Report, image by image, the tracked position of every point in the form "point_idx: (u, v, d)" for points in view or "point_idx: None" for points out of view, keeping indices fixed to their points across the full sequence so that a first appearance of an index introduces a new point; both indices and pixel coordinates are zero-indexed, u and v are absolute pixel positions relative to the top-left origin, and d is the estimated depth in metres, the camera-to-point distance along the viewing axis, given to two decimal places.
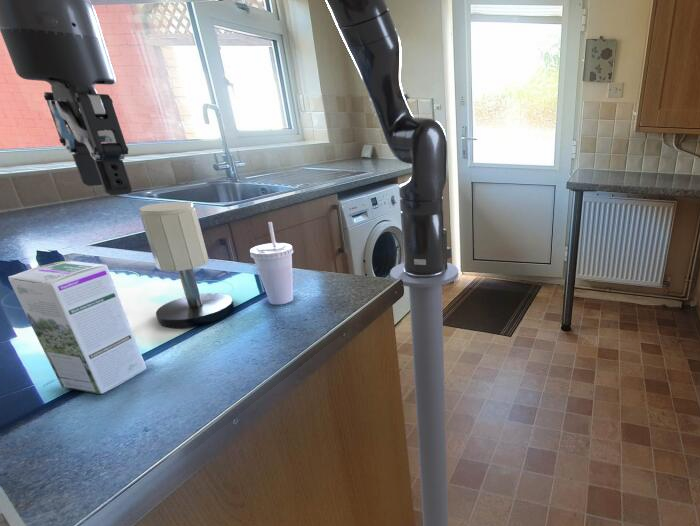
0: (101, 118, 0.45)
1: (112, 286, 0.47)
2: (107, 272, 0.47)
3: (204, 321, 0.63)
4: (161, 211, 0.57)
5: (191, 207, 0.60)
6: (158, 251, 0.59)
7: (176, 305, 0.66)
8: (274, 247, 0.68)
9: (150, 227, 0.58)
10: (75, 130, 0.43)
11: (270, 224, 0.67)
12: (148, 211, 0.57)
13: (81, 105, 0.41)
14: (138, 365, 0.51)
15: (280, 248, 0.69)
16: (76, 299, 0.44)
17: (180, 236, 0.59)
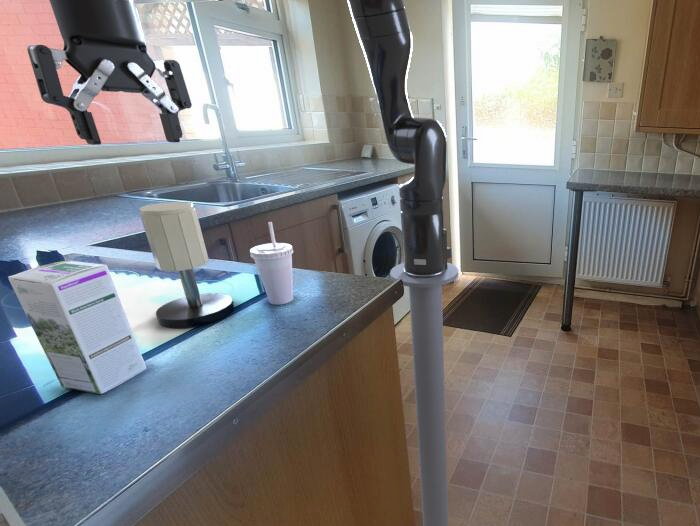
0: (84, 72, 0.48)
1: (112, 286, 0.47)
2: (107, 272, 0.47)
3: (204, 321, 0.63)
4: (161, 211, 0.57)
5: (191, 207, 0.60)
6: (158, 251, 0.59)
7: (176, 305, 0.66)
8: (274, 247, 0.68)
9: (150, 227, 0.58)
10: None
11: (270, 224, 0.67)
12: (148, 211, 0.57)
13: None
14: (138, 365, 0.51)
15: (280, 248, 0.69)
16: (76, 299, 0.44)
17: (180, 236, 0.59)
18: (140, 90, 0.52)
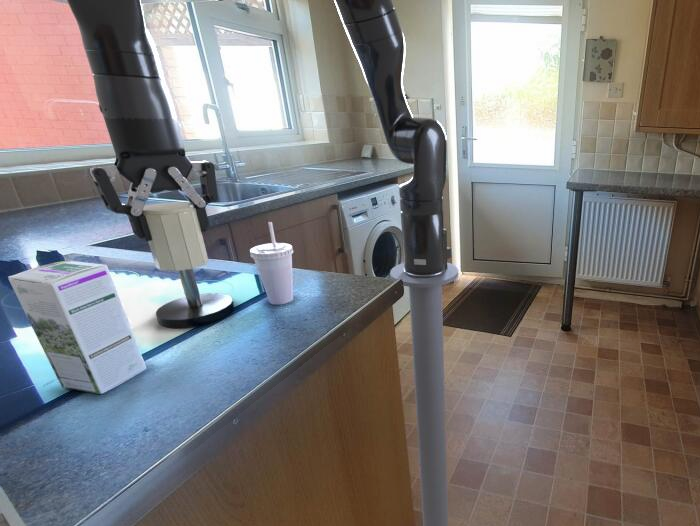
0: (131, 180, 0.55)
1: (112, 286, 0.47)
2: (107, 272, 0.47)
3: (204, 321, 0.63)
4: (161, 211, 0.57)
5: (191, 207, 0.60)
6: (157, 251, 0.59)
7: (176, 305, 0.66)
8: (274, 247, 0.68)
9: (150, 227, 0.58)
10: None
11: (270, 224, 0.67)
12: (148, 211, 0.57)
13: None
14: (138, 365, 0.51)
15: (280, 248, 0.69)
16: (76, 299, 0.44)
17: (180, 236, 0.59)
18: (178, 188, 0.59)
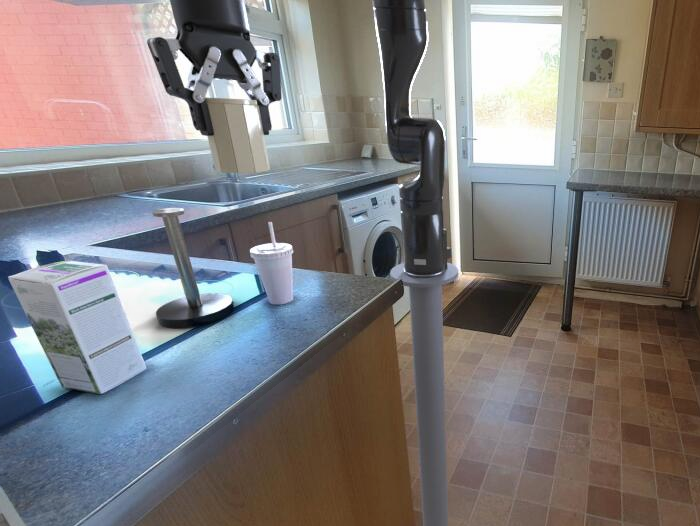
0: (193, 59, 0.48)
1: (112, 286, 0.47)
2: (107, 272, 0.47)
3: (204, 321, 0.63)
4: (225, 99, 0.50)
5: (255, 101, 0.54)
6: (219, 148, 0.52)
7: (176, 305, 0.66)
8: (274, 247, 0.68)
9: (212, 118, 0.51)
10: (190, 74, 0.50)
11: (270, 224, 0.67)
12: (211, 98, 0.50)
13: None
14: (138, 365, 0.51)
15: (280, 248, 0.69)
16: (76, 299, 0.44)
17: (244, 132, 0.53)
18: (242, 78, 0.53)
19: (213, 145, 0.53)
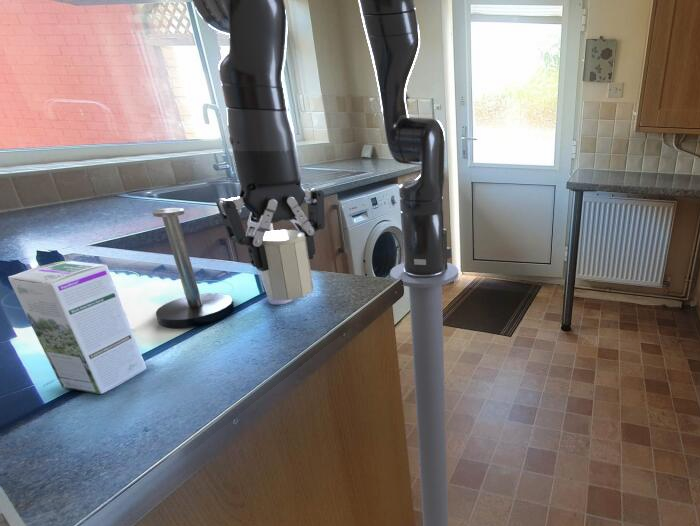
0: (254, 211, 0.55)
1: (112, 286, 0.47)
2: (107, 272, 0.47)
3: (204, 321, 0.63)
4: (280, 241, 0.57)
5: (304, 236, 0.60)
6: (272, 280, 0.59)
7: (176, 305, 0.66)
8: None
9: (268, 257, 0.57)
10: (248, 219, 0.57)
11: (270, 224, 0.67)
12: (268, 241, 0.57)
13: None
14: (138, 365, 0.51)
15: None
16: (76, 299, 0.44)
17: (294, 266, 0.59)
18: (293, 217, 0.59)
19: (267, 277, 0.59)
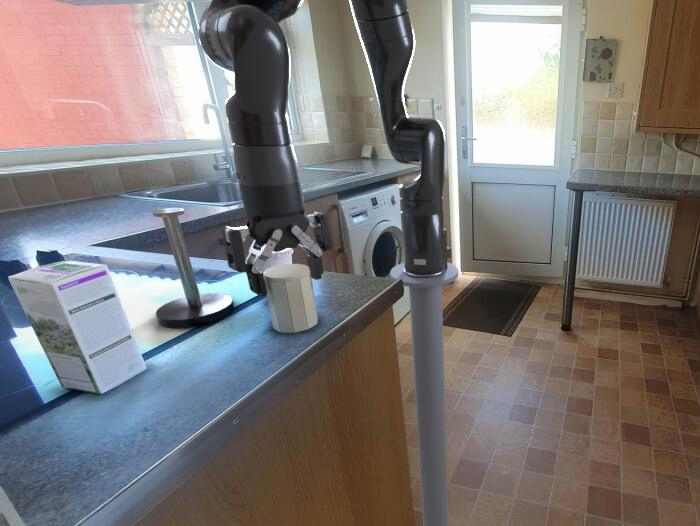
0: (260, 241, 0.57)
1: (112, 286, 0.47)
2: (107, 272, 0.47)
3: (204, 321, 0.63)
4: (286, 278, 0.59)
5: (309, 270, 0.62)
6: (279, 314, 0.61)
7: (176, 305, 0.66)
8: None
9: (274, 293, 0.60)
10: (251, 247, 0.58)
11: None
12: (274, 278, 0.59)
13: None
14: (138, 365, 0.51)
15: None
16: (76, 299, 0.44)
17: (300, 300, 0.61)
18: (297, 244, 0.61)
19: (273, 311, 0.61)
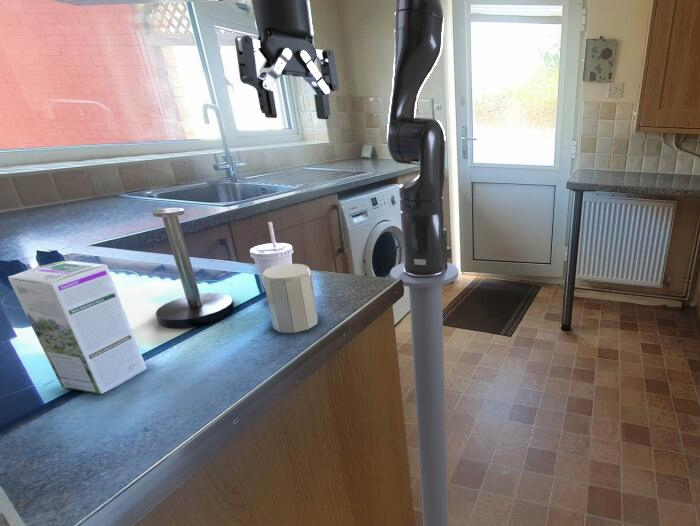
0: (270, 58, 0.59)
1: (112, 286, 0.47)
2: (107, 272, 0.47)
3: (204, 321, 0.63)
4: (286, 278, 0.59)
5: (309, 270, 0.62)
6: (279, 314, 0.61)
7: (176, 305, 0.66)
8: (274, 247, 0.68)
9: (274, 293, 0.60)
10: None
11: (270, 224, 0.67)
12: (274, 278, 0.59)
13: None
14: (138, 365, 0.51)
15: (280, 248, 0.69)
16: (76, 299, 0.44)
17: (300, 300, 0.61)
18: (305, 74, 0.63)
19: (273, 311, 0.61)
